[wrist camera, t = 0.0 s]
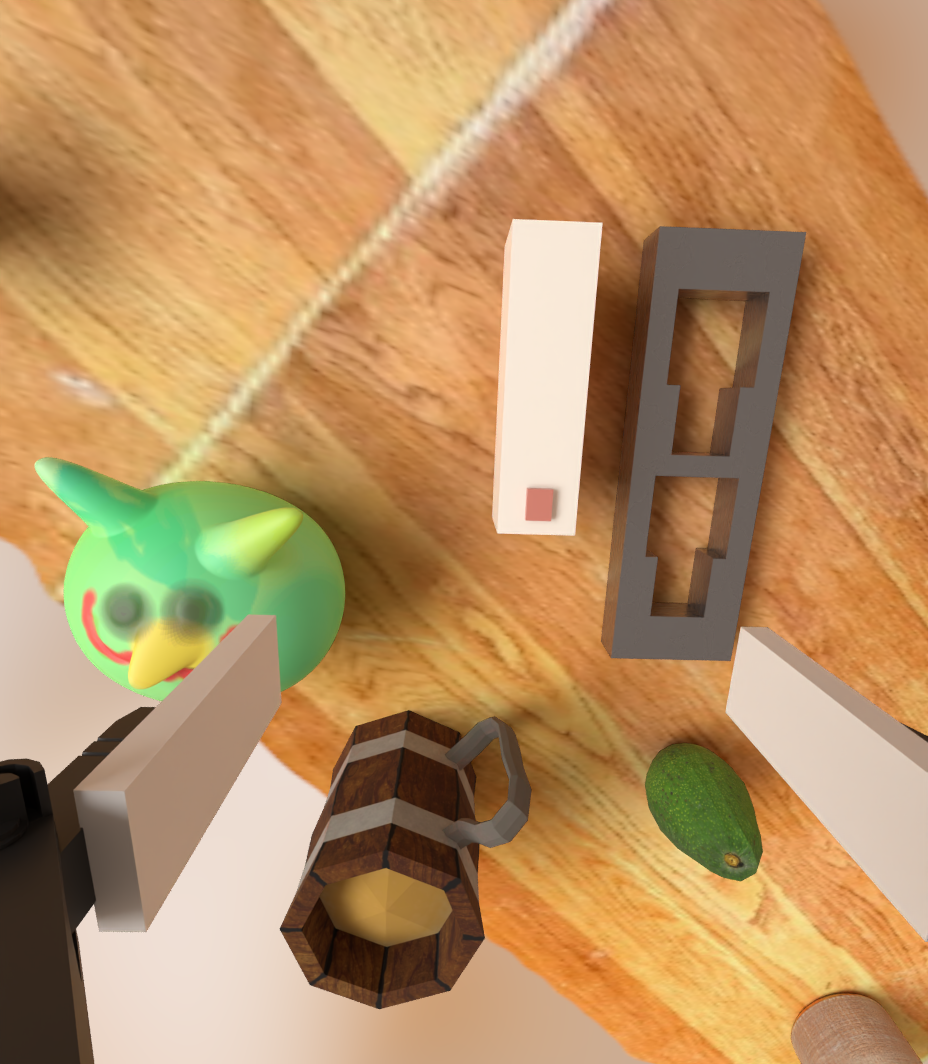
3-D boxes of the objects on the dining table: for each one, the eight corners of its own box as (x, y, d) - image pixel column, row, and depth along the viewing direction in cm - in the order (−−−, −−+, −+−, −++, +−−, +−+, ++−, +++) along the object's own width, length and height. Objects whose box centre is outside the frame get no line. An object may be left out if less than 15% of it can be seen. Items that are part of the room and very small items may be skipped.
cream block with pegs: (499, 264, 37) (513, 215, 28) (566, 267, 37) (605, 219, 28) (488, 504, 42) (498, 535, 32) (549, 506, 42) (576, 537, 32)
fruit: (639, 803, 49) (696, 927, 37) (622, 735, 47) (676, 844, 36) (721, 782, 49) (804, 901, 37) (706, 713, 47) (789, 815, 35)
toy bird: (145, 634, 44) (-3, 743, 30) (144, 440, 40) (-29, 459, 26) (352, 660, 45) (303, 778, 31) (371, 472, 41) (325, 508, 27)
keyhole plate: (643, 240, 37) (659, 226, 34) (779, 245, 37) (806, 232, 34) (601, 641, 45) (611, 658, 42) (712, 644, 45) (730, 660, 42)
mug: (400, 855, 50) (377, 1038, 36) (303, 767, 48) (236, 927, 33) (556, 741, 47) (599, 891, 33) (461, 641, 45) (464, 756, 30)
